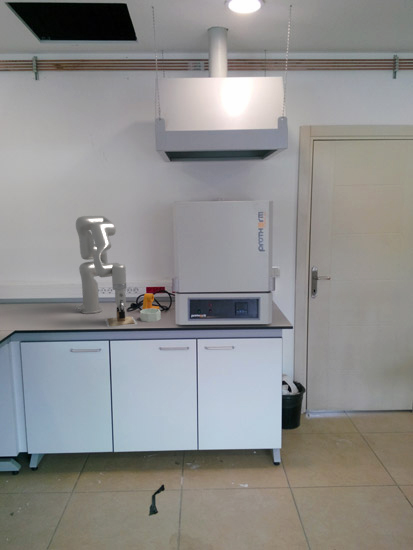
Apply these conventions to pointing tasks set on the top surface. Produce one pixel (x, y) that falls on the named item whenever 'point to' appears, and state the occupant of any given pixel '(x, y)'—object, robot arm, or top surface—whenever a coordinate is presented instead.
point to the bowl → (150, 315)
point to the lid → (120, 321)
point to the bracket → (149, 301)
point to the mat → (120, 325)
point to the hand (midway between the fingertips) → (120, 316)
